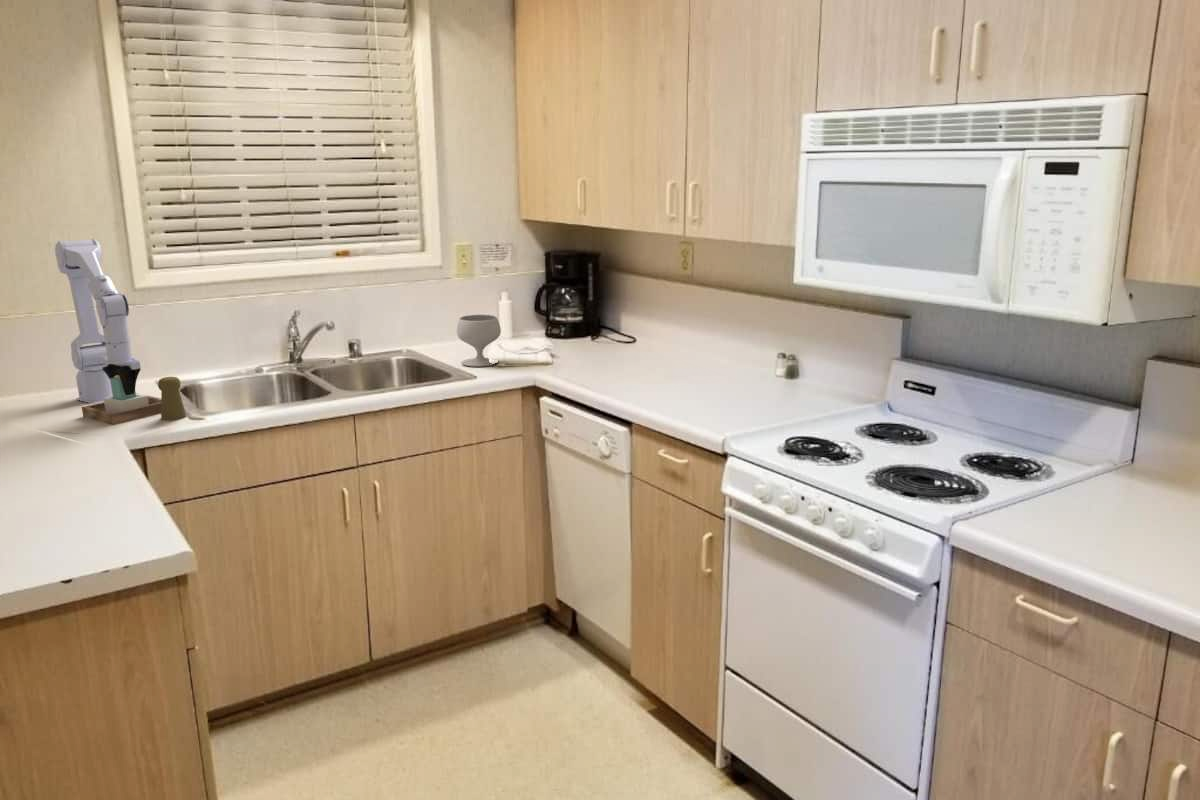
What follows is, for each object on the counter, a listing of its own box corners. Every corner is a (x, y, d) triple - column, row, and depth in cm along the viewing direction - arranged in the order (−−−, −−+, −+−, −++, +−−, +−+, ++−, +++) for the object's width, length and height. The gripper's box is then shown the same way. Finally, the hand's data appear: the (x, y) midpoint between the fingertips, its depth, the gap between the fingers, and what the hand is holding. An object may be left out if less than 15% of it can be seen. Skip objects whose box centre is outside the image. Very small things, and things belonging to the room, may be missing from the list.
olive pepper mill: (191, 415, 240) (186, 374, 238) (178, 422, 235) (173, 380, 232) (169, 415, 241) (163, 374, 238) (156, 421, 235) (150, 380, 232)
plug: (113, 404, 240) (109, 376, 238) (128, 401, 244) (124, 373, 242) (122, 406, 238) (118, 378, 236) (137, 403, 242) (133, 374, 240)
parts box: (83, 418, 239) (81, 407, 238) (141, 404, 252) (140, 393, 251) (113, 426, 232) (111, 414, 231) (172, 411, 245) (170, 400, 244)
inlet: (106, 414, 241) (103, 398, 240) (133, 408, 247) (131, 392, 246) (122, 418, 237) (119, 401, 236) (149, 412, 243) (147, 395, 242)
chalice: (452, 361, 301) (450, 316, 297) (492, 357, 307) (490, 312, 303) (467, 370, 289) (465, 322, 285) (508, 365, 295) (506, 318, 291)
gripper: (86, 341, 238) (94, 392, 241) (118, 347, 230) (126, 400, 233) (113, 337, 243) (120, 387, 247) (145, 342, 236) (152, 394, 239)
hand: (125, 393), depth 240 cm, fingers closed on plug, 4 cm apart
